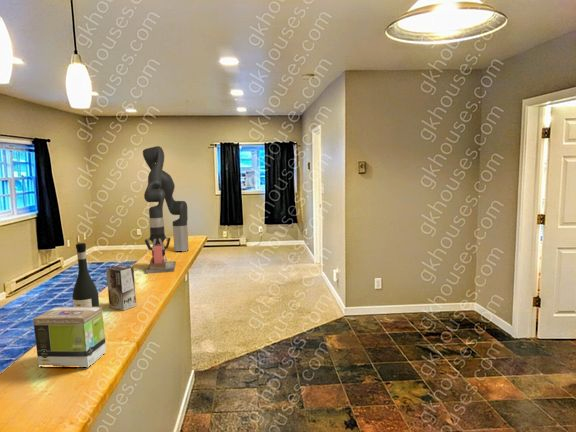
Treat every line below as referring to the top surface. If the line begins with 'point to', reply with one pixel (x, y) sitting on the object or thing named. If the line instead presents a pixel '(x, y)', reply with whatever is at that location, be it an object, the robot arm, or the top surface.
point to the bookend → (167, 263)
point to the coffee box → (121, 287)
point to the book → (158, 254)
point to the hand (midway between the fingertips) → (158, 256)
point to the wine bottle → (84, 282)
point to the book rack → (159, 267)
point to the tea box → (70, 336)
